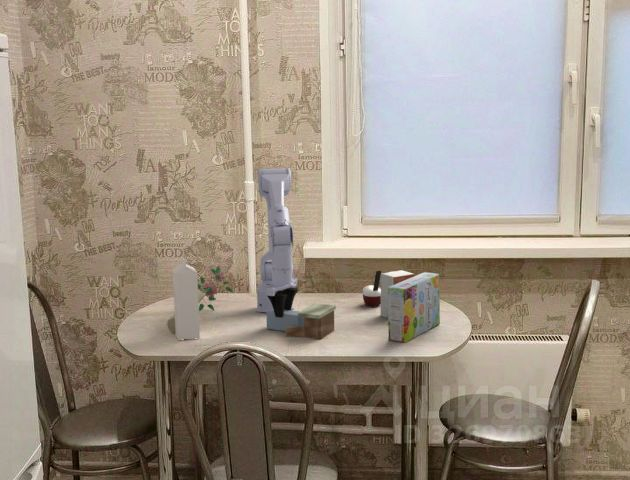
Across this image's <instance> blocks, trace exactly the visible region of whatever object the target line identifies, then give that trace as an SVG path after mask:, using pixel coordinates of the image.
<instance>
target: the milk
mask: <svg viewBox="0 0 630 480" xmlns="http://www.w3.org/2000/svg"><path fill="white" fill-rule="evenodd" d="M197 278H198V271H197V270H196V268H195V267H193V266H192V265H189V264H187V261H186V259H185V258H184V257H182V263H180V264H179V265H177V266H176V267H174V268H173V269H172V283H173V287H172V288H173V303H174V304H173V305H174V307H173V308H174V314H175V330H176V333H175V336H176V338H178V339H177V341H178V340H182V339H192V340H196V339H195V338H200V339H201V334H200V333H201V331H200V330H201V329H200V312H199V306H200V304H198V282H199V281H197ZM182 341H183V340H182Z"/></svg>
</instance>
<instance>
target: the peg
mask: <svg viewBox="0 0 630 480" xmlns="http://www.w3.org/2000/svg"><path fill="white" fill-rule="evenodd" d="M300 311H301V310H300ZM300 311H299V310H293V309H292V310H284V314H283V317H282V318H280V317H275V313H274V310H273V309H271V310H269V311H267V312H265V313H266V314H265V315H266V329H268V330H275V331H284V332H286V326H297V327H304V317H299V316H298V312H300Z"/></svg>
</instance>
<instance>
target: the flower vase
mask: <svg viewBox="0 0 630 480" xmlns="http://www.w3.org/2000/svg"><path fill="white" fill-rule="evenodd" d="M210 271H211V272H212V274H213V277H214V279H215V282H210V281H209V282H208V283H207V282H206V284H205V279H204V277H203V276H201V277H200V284H198V305H199V311H200V312H201V311H202V310H203V309H204V308H205V305H204V303H205V304H207V302H206V301H205V297H207V298H208V301H209V302H212V301H215V300H217V298H216V297H215V295H217V294H218V287H217V286H218V284H217V282H222V280H224V279H225V276H224V274H223V273H222V272H221V267H220V266H219V265H217V267H216V269H214V268H210ZM197 281H198V282H199V279H198V277H197ZM229 283H230V282H229V281H227V280H226V281H223V283H222V284H221V285H219V287H221V288H225V290H226V291H228V292H231V293H233V292H234V291H233V289H232V288H231V287H229V286H227V287H224V286H223V285H226V284H227V285H228V284H229ZM201 284H202V285H201ZM204 284H205V285H204ZM202 286H203V287H202ZM202 300H203V301H204V303H201V302H202ZM207 307H208V308H209V309H210V310H212V311H215V307H214V306H213V305H212V304H207ZM166 325H167V326H166V327H167V329H168V330H169V331H170V332H172V333H173V332H176V330H175V313H174V314H173V315H172V316H171V317H170V318H169V319H168V320H167V323H166Z"/></svg>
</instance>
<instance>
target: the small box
mask: <svg viewBox="0 0 630 480" xmlns="http://www.w3.org/2000/svg"><path fill="white" fill-rule="evenodd" d="M414 276H415V273H412V272H409V271H405V270H402V269H401V270H395V271H389V272H384V273H382V272H381V276H380V289H381V304H380V316H383V317H385V318H388V287H390V286H392V285H395V284H397V283H400V282H402V281H405V280H407V279H409V278H412V277H414Z"/></svg>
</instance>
